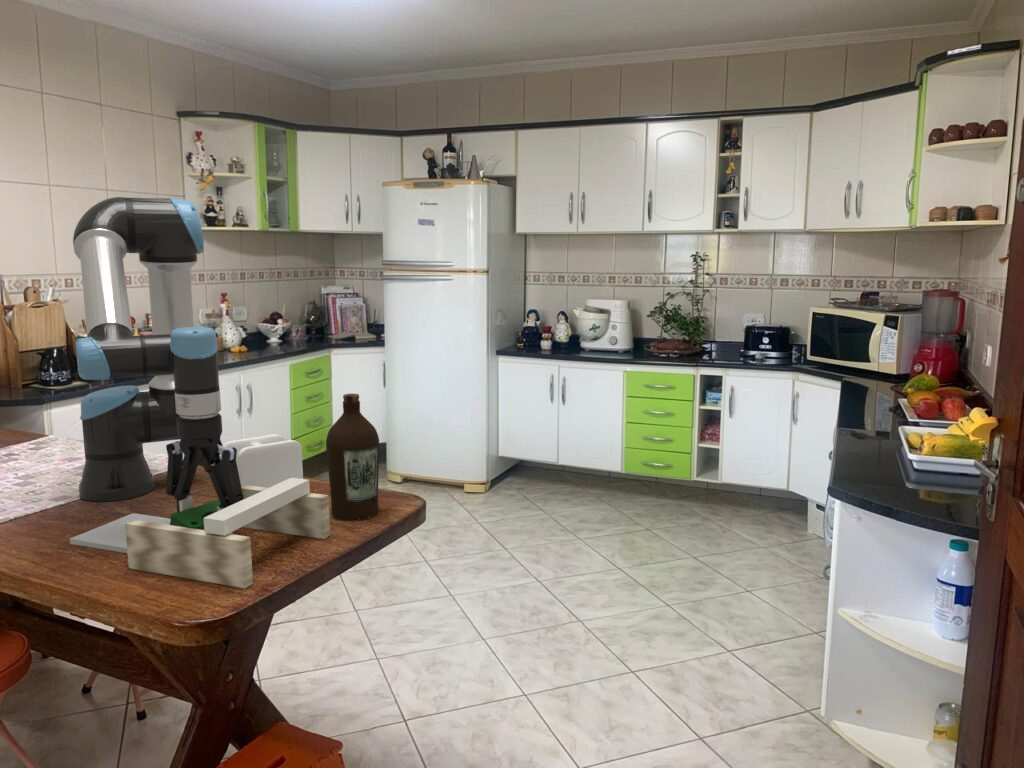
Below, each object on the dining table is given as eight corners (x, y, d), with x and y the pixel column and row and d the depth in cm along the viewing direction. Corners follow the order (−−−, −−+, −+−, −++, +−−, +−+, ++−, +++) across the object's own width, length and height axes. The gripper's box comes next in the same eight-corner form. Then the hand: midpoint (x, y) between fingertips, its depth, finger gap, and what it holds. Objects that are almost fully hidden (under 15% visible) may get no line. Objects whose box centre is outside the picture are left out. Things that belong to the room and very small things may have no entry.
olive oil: (321, 511, 163) (316, 393, 159) (368, 502, 169) (364, 388, 165) (341, 526, 154) (336, 402, 150) (389, 515, 160) (386, 396, 156)
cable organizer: (238, 502, 168) (235, 450, 166) (221, 491, 176) (218, 441, 174) (304, 489, 178) (301, 439, 176) (284, 478, 186) (282, 431, 184)
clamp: (197, 569, 141) (183, 535, 135) (176, 554, 144) (162, 520, 138) (249, 528, 148) (238, 494, 143) (229, 514, 151) (217, 481, 146)
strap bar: (204, 532, 128) (203, 517, 127) (291, 490, 150) (291, 477, 149) (224, 535, 126) (223, 520, 126) (309, 492, 149) (309, 479, 148)
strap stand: (128, 568, 134) (124, 523, 132) (226, 520, 157) (224, 482, 156) (245, 588, 126) (242, 541, 125) (330, 535, 149) (328, 495, 148)
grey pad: (70, 543, 145) (69, 538, 145) (133, 517, 159) (133, 513, 158) (129, 553, 140) (128, 548, 140) (189, 526, 154) (188, 521, 154)
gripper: (136, 414, 139) (146, 535, 143) (232, 423, 132) (240, 550, 137) (168, 405, 146) (176, 521, 150) (260, 414, 139) (267, 535, 143)
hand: (207, 535), depth 143 cm, fingers closed on clamp, 8 cm apart
